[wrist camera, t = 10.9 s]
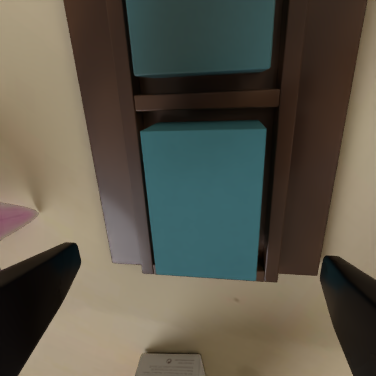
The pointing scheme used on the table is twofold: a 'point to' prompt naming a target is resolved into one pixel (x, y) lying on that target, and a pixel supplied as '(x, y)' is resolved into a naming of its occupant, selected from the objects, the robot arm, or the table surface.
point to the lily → (14, 218)
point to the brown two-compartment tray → (219, 105)
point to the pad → (205, 196)
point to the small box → (170, 365)
